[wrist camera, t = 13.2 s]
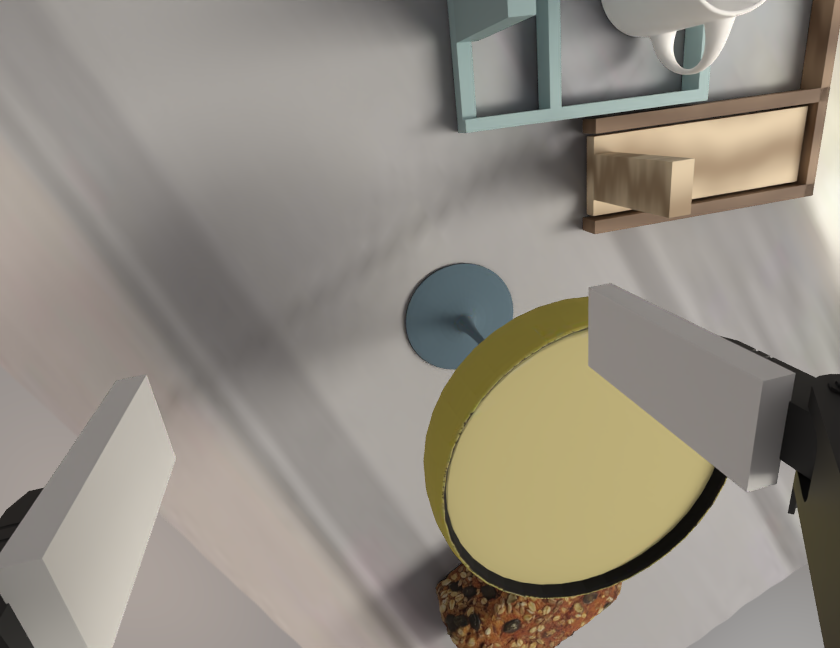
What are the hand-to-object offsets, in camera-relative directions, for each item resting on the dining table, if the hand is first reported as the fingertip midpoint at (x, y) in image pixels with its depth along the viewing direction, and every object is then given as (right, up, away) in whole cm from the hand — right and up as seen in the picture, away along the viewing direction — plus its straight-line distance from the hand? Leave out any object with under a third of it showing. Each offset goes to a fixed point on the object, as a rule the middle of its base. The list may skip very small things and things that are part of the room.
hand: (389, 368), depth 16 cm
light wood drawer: (+27, +17, +35) cm, 48 cm away
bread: (+12, -27, +48) cm, 57 cm away
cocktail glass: (+5, +2, +35) cm, 36 cm away
